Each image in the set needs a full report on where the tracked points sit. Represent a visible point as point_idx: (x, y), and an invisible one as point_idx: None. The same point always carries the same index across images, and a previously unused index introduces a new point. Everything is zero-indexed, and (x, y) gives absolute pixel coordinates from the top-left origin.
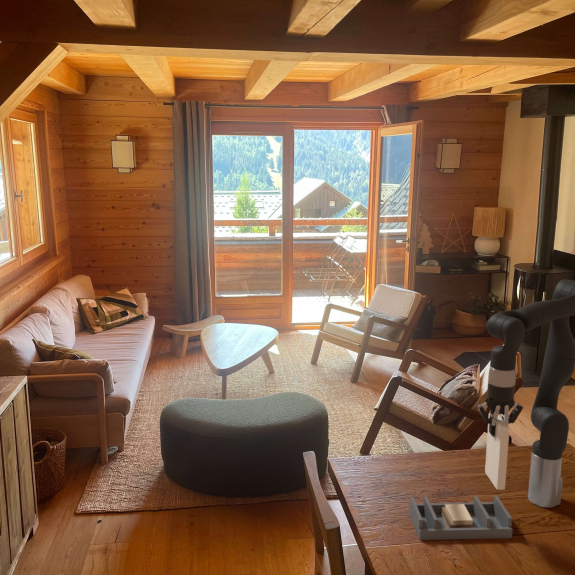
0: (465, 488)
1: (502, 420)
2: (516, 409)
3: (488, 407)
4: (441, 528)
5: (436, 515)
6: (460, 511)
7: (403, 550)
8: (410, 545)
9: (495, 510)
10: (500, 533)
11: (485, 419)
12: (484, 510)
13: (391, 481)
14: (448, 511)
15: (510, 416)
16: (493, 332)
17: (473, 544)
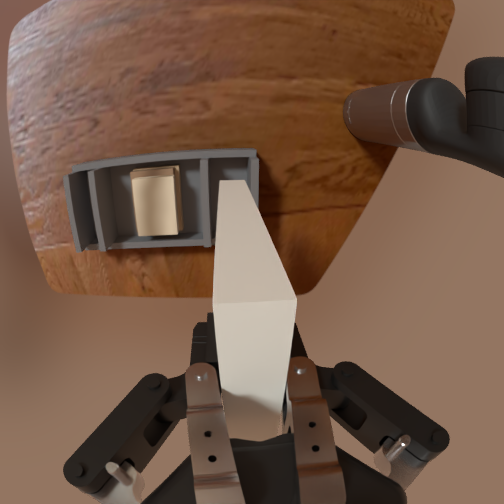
0: (223, 56)
1: (275, 405)
2: (378, 468)
3: (163, 484)
4: (119, 243)
5: (126, 170)
6: (159, 204)
7: (75, 256)
8: None
9: (248, 170)
10: None
11: (148, 430)
12: (206, 218)
13: (77, 51)
14: (134, 205)
15: (352, 390)
16: None
17: None
